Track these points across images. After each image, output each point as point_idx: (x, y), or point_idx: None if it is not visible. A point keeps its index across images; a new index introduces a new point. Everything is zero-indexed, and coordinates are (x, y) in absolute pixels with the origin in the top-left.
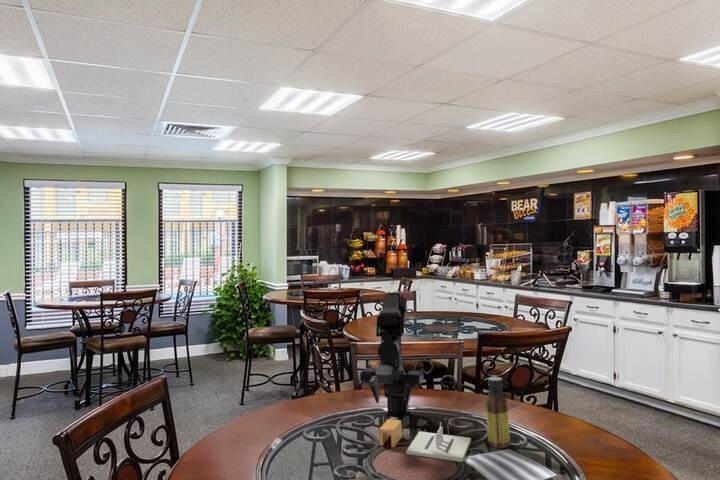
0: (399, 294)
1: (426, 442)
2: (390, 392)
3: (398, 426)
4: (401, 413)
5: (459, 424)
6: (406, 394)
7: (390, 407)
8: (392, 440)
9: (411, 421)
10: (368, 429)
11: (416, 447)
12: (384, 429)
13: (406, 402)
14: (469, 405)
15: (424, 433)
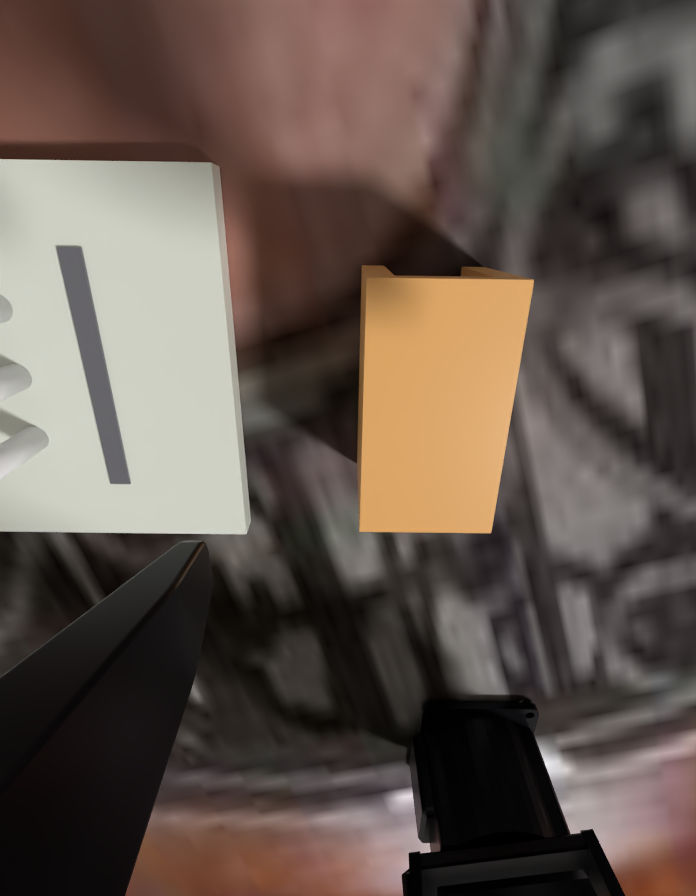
0: None
1: (121, 374)
2: (561, 881)
3: (361, 436)
4: (442, 727)
5: None
6: (29, 726)
7: (522, 757)
8: (376, 270)
9: (361, 667)
10: (620, 505)
11: (155, 256)
12: (474, 280)
13: (158, 574)
14: (136, 863)
15: (200, 513)
